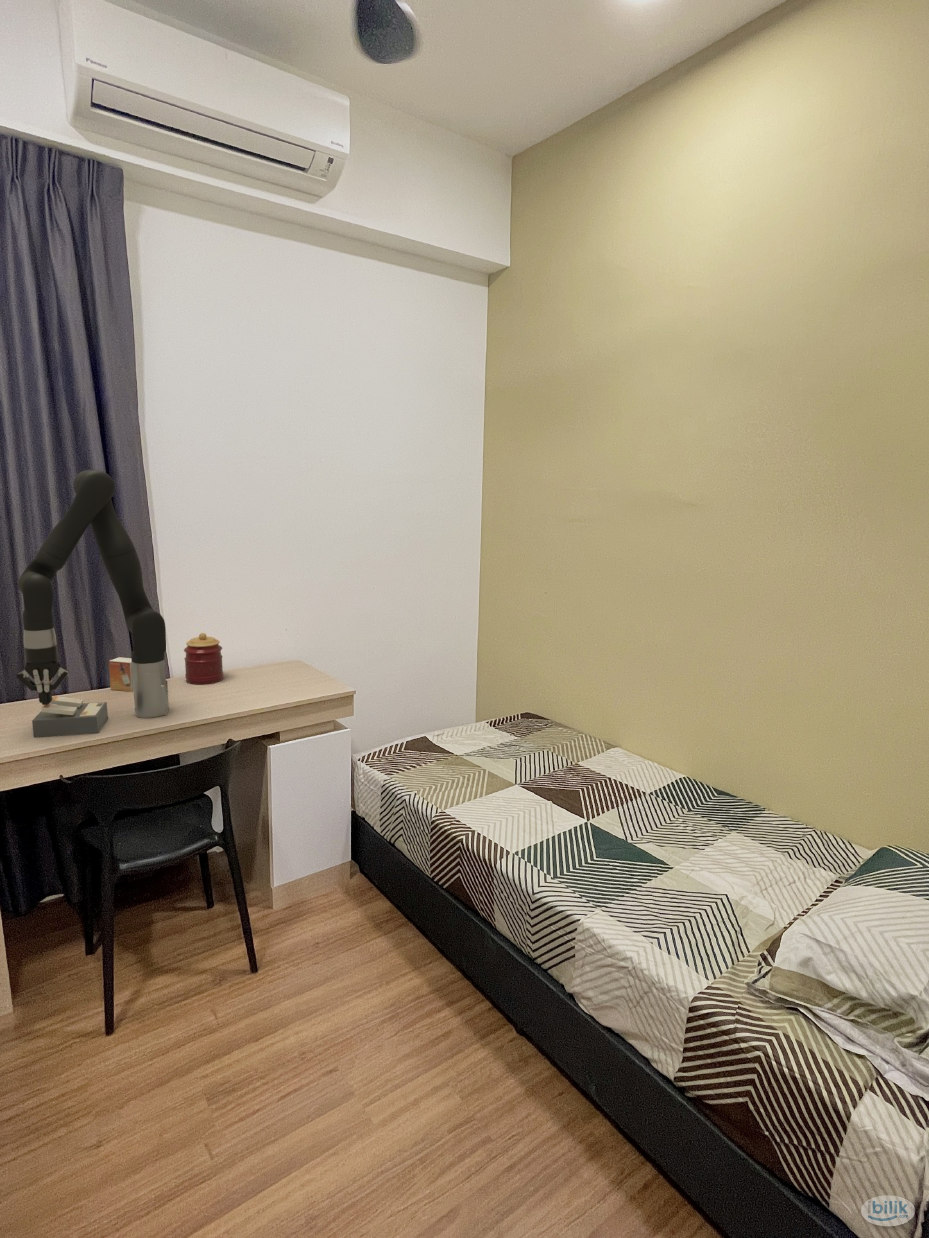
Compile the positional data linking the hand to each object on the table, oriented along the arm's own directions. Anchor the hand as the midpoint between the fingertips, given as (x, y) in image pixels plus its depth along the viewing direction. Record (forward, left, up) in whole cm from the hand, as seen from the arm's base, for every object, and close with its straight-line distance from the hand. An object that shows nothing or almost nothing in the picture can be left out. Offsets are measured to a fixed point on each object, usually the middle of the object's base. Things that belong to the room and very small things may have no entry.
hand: (46, 703), depth 183 cm
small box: (-13, -40, -9) cm, 43 cm away
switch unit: (-5, -4, -9) cm, 11 cm away
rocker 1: (-3, -7, -2) cm, 8 cm away
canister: (-38, -46, -9) cm, 60 cm away
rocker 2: (-3, 0, -2) cm, 4 cm away
